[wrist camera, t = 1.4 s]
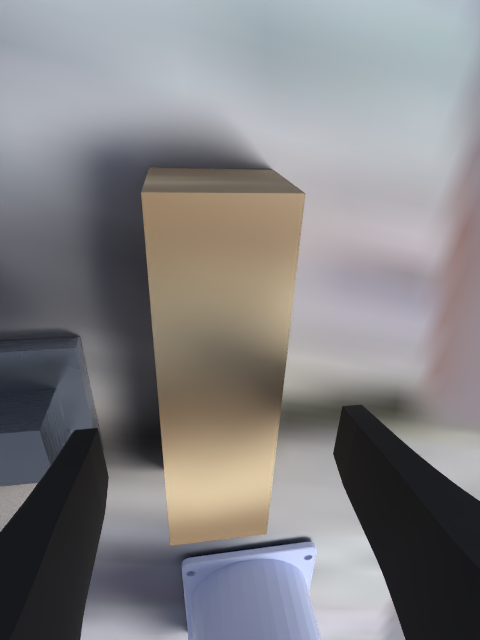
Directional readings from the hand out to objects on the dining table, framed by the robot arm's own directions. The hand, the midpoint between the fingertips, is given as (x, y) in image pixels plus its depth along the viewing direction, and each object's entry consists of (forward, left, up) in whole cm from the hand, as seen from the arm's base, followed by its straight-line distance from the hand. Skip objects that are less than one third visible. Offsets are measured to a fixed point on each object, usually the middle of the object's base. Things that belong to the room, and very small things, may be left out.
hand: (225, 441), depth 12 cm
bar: (0, 0, -5) cm, 5 cm away
